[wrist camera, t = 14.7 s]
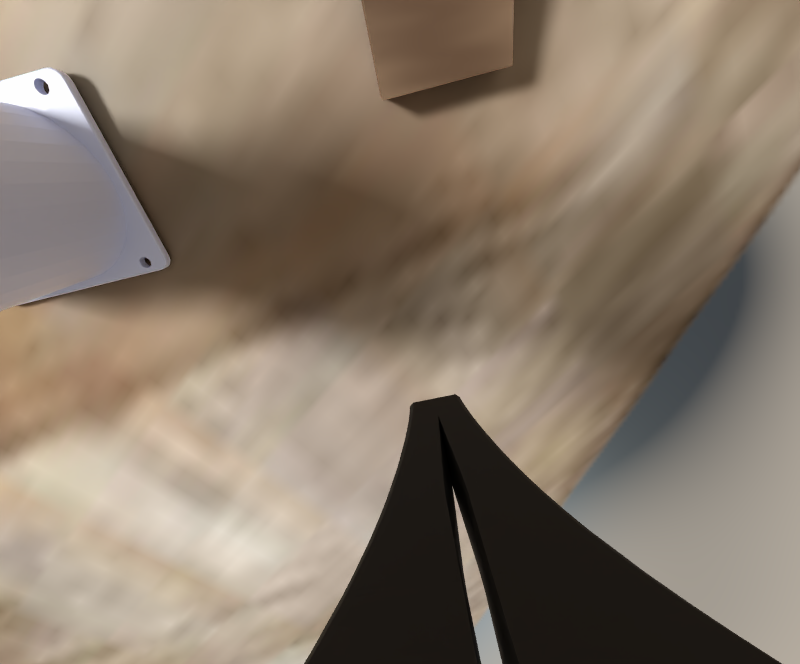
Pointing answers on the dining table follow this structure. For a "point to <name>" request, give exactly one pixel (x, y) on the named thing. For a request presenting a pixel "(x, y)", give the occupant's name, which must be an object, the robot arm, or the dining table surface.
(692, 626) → the robot arm
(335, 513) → the dining table surface
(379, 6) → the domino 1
